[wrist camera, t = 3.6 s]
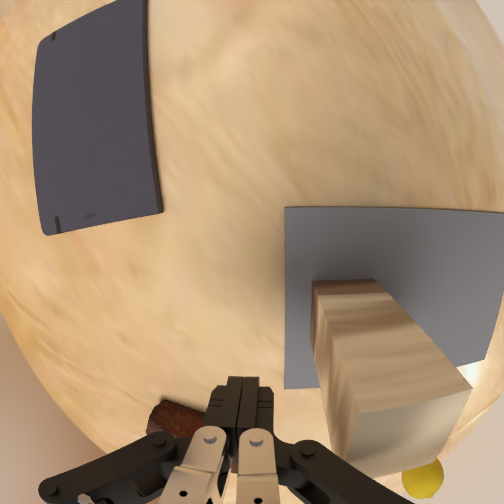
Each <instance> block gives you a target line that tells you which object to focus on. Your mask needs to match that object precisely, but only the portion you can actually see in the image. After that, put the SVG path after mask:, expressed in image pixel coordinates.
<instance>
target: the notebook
mask: <svg viewBox="0 0 504 504" xmlns="http://www.w3.org/2000/svg"><path fill="white" fill-rule="evenodd" d="M32 148H33V165H34V177H35V187H36V196H37V203H38V210H39V217H40V223H41V228H42V231H43V233H44V234H45V235H47V236H50V235H55V234H61V233H64V232H68V231H73V230H77V229H82V228H87V227H92V226H97V225H102V224H107V223H112V222H117V221H122V220H127V219H133V218H138V217H144V216H149V215H155V214H160V213H163V208H162V201H161V195H160V188H159V180H158V173H157V165H156V157H155V149H154V140H153V130H152V119H151V108H150V94H149V79H148V57H147V0H116V1H114V2H112V3H109V4H107V5H105V6H103V7H101V8H98V9H96V10H94V11H92V12H90V13H88V14H86V15H84V16H82V17H80V18H78V19H76V20H74V21H73V22H71V23H69V24H67V25H65V26H64V27H62V28H60V29H58V30H56V31H55V32H53V33H52V34H50V35H49V36H47V37H45V38H44V39H43V40H42V41H41V42H40V43H39V45H38V49H37V56H36V64H35V73H34V84H33V101H32Z"/></svg>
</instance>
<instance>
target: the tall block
mask: <svg viewBox="0 0 504 504" xmlns="http://www.w3.org/2000/svg"><path fill="white" fill-rule="evenodd" d="M310 342H311V347H312V351H313V356H314V360H315V365H316V370H317V375H318V380H319V384H320V389H321V394H322V399H323V404H324V409H325V415H326V420H327V425H328V431H329V436H330V441H331V447H332V452H333V453H334V454H336V455H337V456H338V457H340V458H341V459H343V460H344V461H346V462H347V463H349V464H350V465H352V466H353V467H355V468H356V469H358V470H359V471H361V472H362V473H364V474H365V475H367V476H368V477H370V478H375V477H380V476H385V475H389V474H393V473H398V472H402V471H405V470H409V469H413V468H416V467H420V466H423V465H426V464H430V463H433V462H434V461H435V459H436V458H437V456H438V454H439V453H440V451H441V449H442V448H443V446H444V444H445V443H446V441H447V439H448V437H449V436H450V434H451V432H452V430H453V428H454V426H455V425H456V423H457V421H458V419H459V417H460V415H461V413H462V411H463V409H464V406H465V404H466V402H467V400H468V398H469V396H470V393H471V391H472V389H473V388H472V387H471V385H470V384H469V383H468V382H467V380H466V379H465V378H464V377H463V376H462V374H461V373H460V372H459V371H458V370H457V368H456V367H455V366H454V365H453V364H452V362H451V361H450V360H449V359H448V358H447V357H446V355H445V354H444V353H443V352H442V351H441V350H440V349H439V347H438V346H437V345H436V344H435V343H434V342H433V341H432V340H431V338H430V337H429V336H428V335H427V334H426V333H425V332H424V331H423V330H422V328H421V327H420V326H419V325H418V324H417V323H416V322H415V321H414V320H413V319H412V318H411V317H410V315H409V314H408V313H407V312H406V311H405V310H404V309H403V308H402V307H401V306H400V305H399V304H398V303H397V302H396V301H395V300H394V299H393V298H392V296H391V295H390V294H389V293H388V292H387V291H386V290H385V289H384V288H383V287H382V286H381V285H380V284H379V283H378V282H377V281H376V280H375V279H350V280H322V281H312V299H311V322H310Z"/></svg>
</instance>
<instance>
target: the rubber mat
mask: <svg viewBox="0 0 504 504" xmlns="http://www.w3.org/2000/svg"><path fill="white" fill-rule="evenodd" d="M285 278H286V296H285V370H284V389H305V388H320V384H319V380H318V375H317V370H316V365H315V360H314V356H313V351H312V347H311V342H310V322H311V299H312V281H322V280H350V279H375V280H376V281H377V282H378V283H379V284H380V285H381V286H382V287H383V288H384V289H385V290H386V291H387V292H388V293H389V294H390V295H391V296H392V298H393V299H394V300H395V301H396V302H397V303H398V304H399V305H400V306H401V307H402V308H403V309H404V310H405V311H406V312H407V313H408V314H409V315H410V317H411V318H412V319H413V320H414V321H415V322H416V323H417V324H418V325H419V326H420V327H421V328H422V330H423V331H424V332H425V333H426V334H427V335H428V336H429V337H430V338H431V340H432V341H433V342H434V343H435V344H436V345H437V346H438V347H439V349H440V350H441V351H442V352H443V353H444V354H445V355H446V357H447V358H448V359H449V360H450V361H451V362H452V364H453V365H454V366H455V367H458V366H462V365H466V364H470V363H474V362H477V361H481V360H484V359H485V356H486V353H487V350H488V347H489V344H490V341H491V338H492V334H493V331H494V328H495V324H496V320H497V317H498V313H499V309H500V305H501V301H502V296H503V292H504V213H491V212H477V211H461V210H442V209H419V208H385V207H285Z"/></svg>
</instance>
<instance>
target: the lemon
mask: <svg viewBox="0 0 504 504" xmlns="http://www.w3.org/2000/svg"><path fill="white" fill-rule="evenodd" d="M443 479H444V473H443V468H442V465H441V463H440V461H439V460H438V459H437V458H436V459H435V461H434V462H433V463H430V464H426V465H423V466H420V467H416V468H413V469H409V470H405V471H403V472H402V482H403V486H404V488H405V490H406V491H407V493H408V494H409V495H410V496H412V497H414V498H419V499H423V498H431V497H432V496H433V495H434V494H435V493H436V492H437V491H438V489H439V488H440V487H441V485H442V483H443Z"/></svg>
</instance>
